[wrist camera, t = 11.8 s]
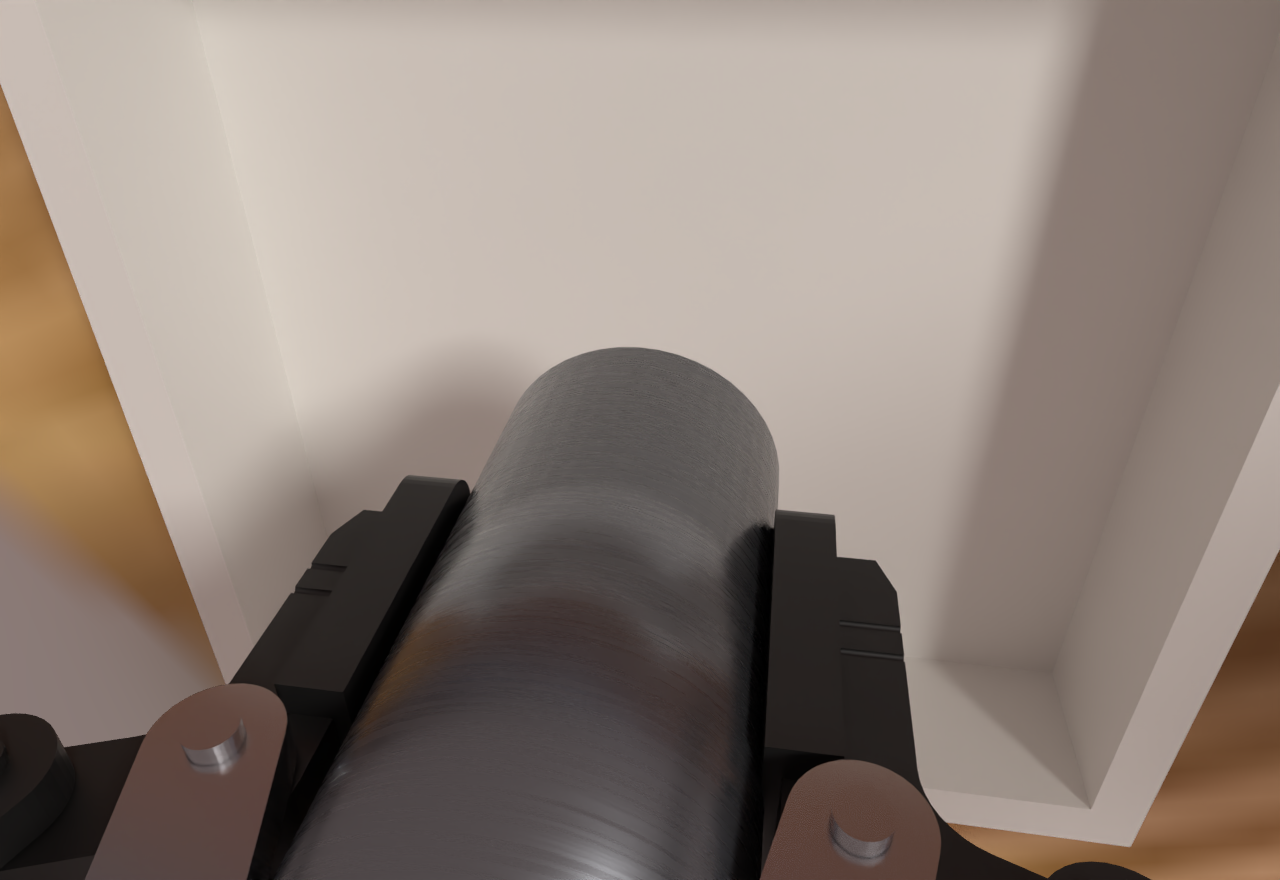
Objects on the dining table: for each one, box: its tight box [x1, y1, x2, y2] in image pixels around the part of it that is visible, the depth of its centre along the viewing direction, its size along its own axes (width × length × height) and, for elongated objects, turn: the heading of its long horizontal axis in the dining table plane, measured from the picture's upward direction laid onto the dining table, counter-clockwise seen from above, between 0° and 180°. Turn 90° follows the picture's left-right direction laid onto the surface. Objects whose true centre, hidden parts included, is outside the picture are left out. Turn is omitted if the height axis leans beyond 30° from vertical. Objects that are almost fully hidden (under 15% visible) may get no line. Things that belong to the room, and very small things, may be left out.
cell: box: [273, 347, 779, 880], centre depth 9 cm, size 4×4×10 cm
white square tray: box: [0, 0, 1280, 847], centre depth 16 cm, size 19×18×4 cm
